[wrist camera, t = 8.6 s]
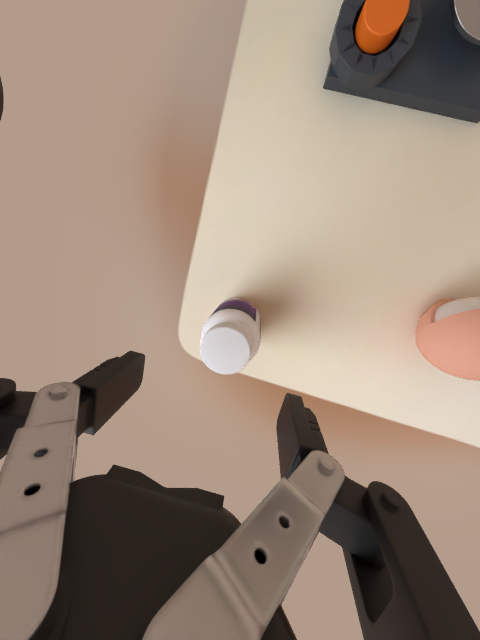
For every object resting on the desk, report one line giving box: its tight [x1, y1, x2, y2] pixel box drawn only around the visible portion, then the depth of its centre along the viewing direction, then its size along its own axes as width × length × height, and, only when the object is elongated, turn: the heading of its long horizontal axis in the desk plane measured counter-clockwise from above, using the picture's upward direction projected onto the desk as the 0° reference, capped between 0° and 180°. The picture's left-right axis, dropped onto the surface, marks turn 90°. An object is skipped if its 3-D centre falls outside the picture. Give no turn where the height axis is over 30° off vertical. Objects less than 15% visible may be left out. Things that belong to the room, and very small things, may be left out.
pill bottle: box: [200, 297, 261, 374], centre depth 22 cm, size 5×5×10 cm
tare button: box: [355, 0, 410, 54], centre depth 16 cm, size 3×3×2 cm
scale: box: [323, 0, 480, 123], centre depth 17 cm, size 14×10×3 cm
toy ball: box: [416, 297, 480, 380], centre depth 20 cm, size 8×8×8 cm
